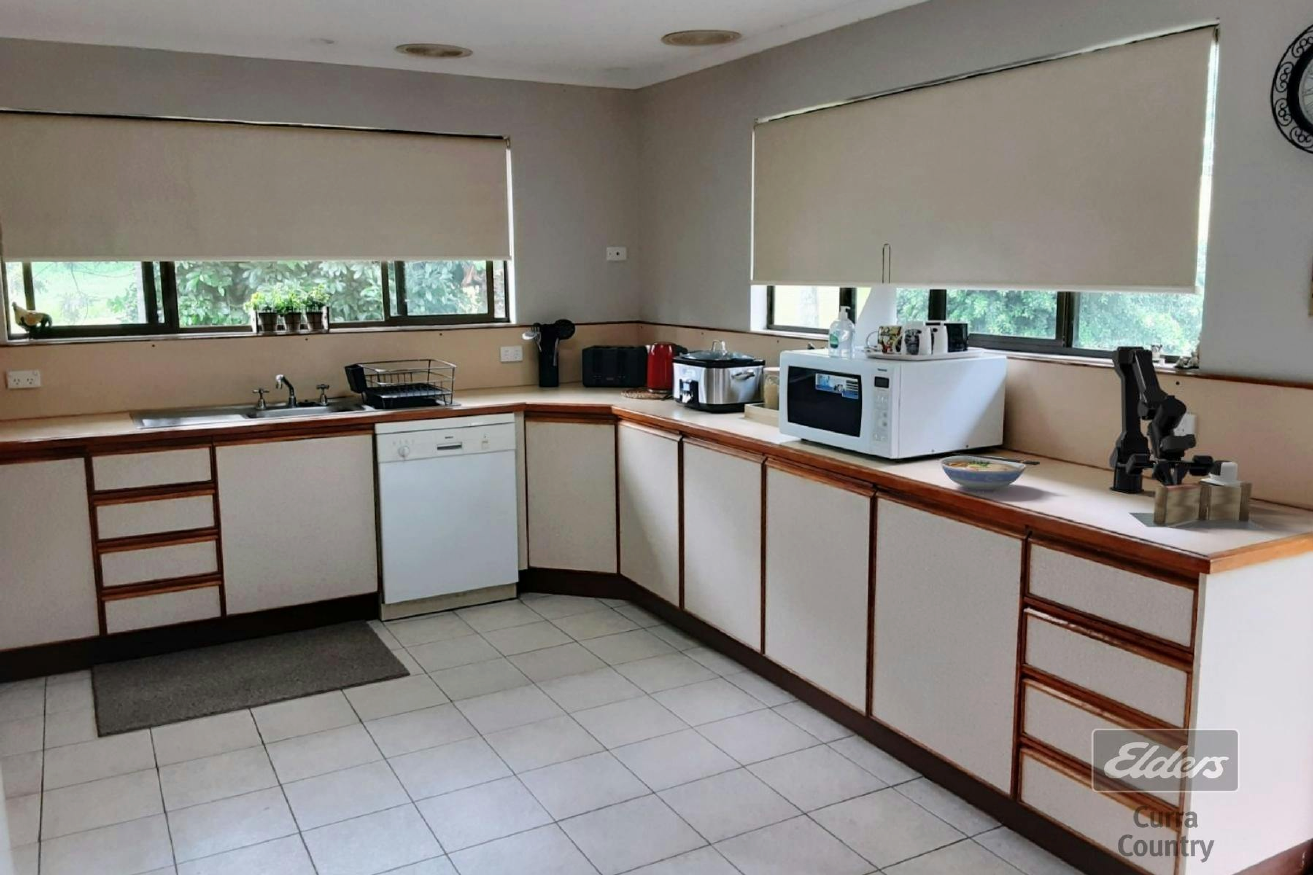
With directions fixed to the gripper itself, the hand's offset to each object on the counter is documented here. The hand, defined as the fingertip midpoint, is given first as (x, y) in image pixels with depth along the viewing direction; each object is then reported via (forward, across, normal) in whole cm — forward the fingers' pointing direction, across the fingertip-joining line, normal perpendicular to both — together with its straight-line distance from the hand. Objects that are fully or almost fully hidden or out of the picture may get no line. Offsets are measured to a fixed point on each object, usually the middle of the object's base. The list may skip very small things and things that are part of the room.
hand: (1176, 494), depth 244 cm
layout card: (+4, +5, +5) cm, 8 cm away
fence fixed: (+3, +12, +6) cm, 13 cm away
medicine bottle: (-7, +17, +17) cm, 25 cm away
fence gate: (+5, 0, +3) cm, 6 cm away
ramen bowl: (-18, -39, +28) cm, 51 cm away
